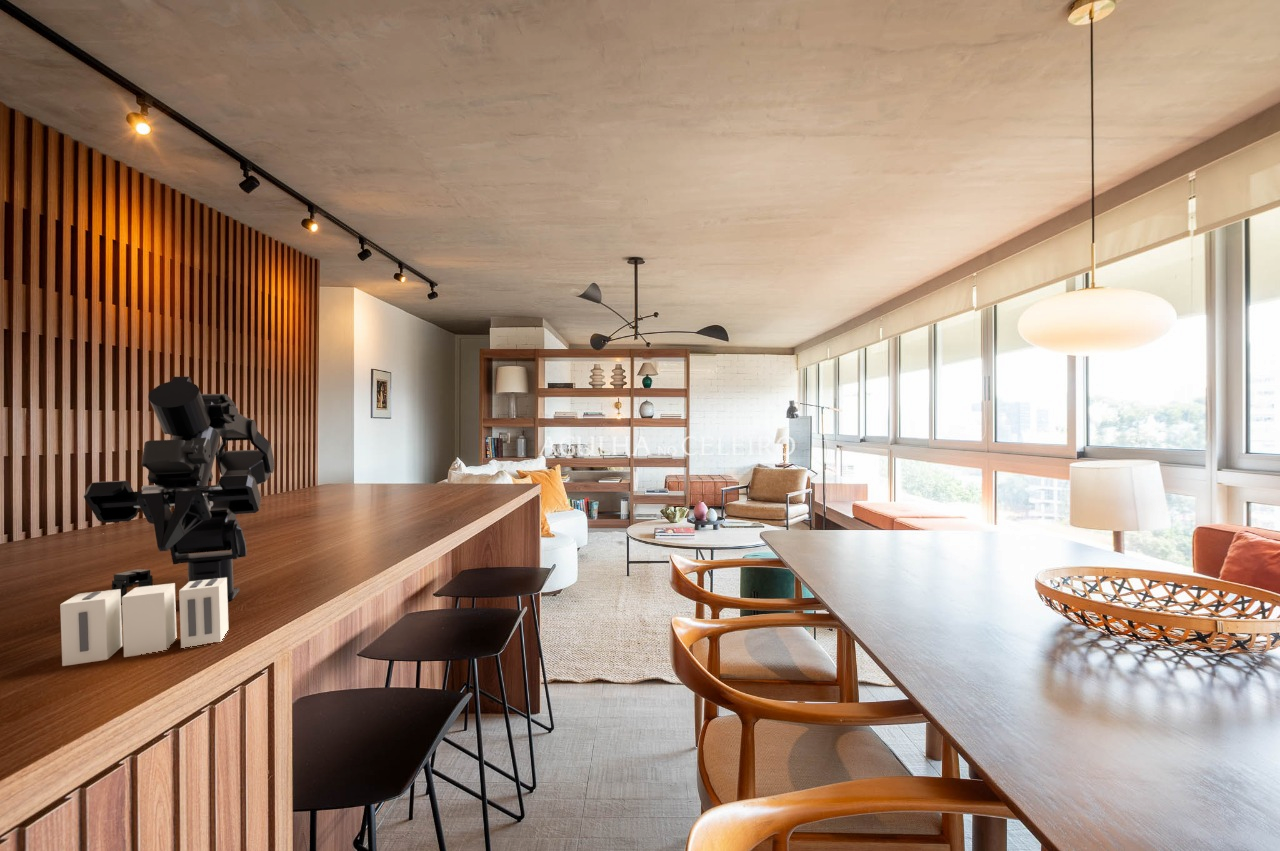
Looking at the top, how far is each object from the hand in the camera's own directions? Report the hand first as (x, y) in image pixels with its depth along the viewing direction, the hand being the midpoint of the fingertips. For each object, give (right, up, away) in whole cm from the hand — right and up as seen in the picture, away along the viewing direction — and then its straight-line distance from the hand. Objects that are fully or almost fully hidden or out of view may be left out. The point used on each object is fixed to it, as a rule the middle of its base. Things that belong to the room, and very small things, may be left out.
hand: (162, 549), depth 79 cm
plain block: (+2, -11, -4) cm, 12 cm away
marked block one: (-3, -11, -6) cm, 13 cm away
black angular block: (-20, -12, +20) cm, 31 cm away
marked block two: (+7, -11, -2) cm, 13 cm away
